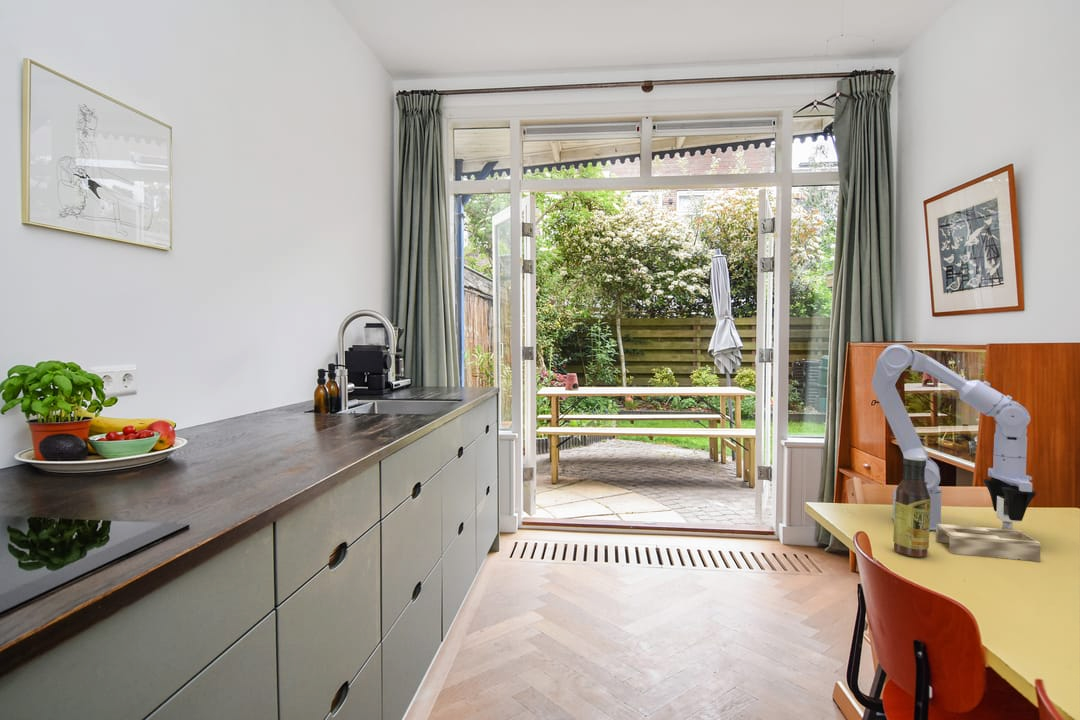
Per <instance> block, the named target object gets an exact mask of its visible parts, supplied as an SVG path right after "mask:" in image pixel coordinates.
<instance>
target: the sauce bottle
mask: <svg viewBox="0 0 1080 720" xmlns="http://www.w3.org/2000/svg"><path fill="white" fill-rule="evenodd" d="M902 465H903V473H902V478H903V479H902V480H901V481H900V482H899V484H898V485H897V487H896V488H897V489H896V500H895V513H894V520H893V538H892V542H893V548H894V551H895V552H897V553H898V554H901V555H905V556H909V557H917V558H919V557H920V558H921V557H926V556H927V554H928V549H929V548H930V530H929V529H930V507H931V498H930V495H929V492H928V489H927V486H926V483H925V477H924V475H925V467H926V460H925V459H922V458H916V457H904V456H903V457H902Z"/></svg>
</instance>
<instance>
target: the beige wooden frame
mask: <svg viewBox="0 0 1080 720" xmlns="http://www.w3.org/2000/svg"><path fill="white" fill-rule="evenodd" d="M1022 538H1024V539H1022ZM935 541H936V542H937V543H942V544H944V543H946V544H948V553H950V554H952V555H953V554H954V555H964V556H965V555H966V556H977V557H987V558H996V557H997V558H999V559H1007V558H1008V559H1009V560H1018V559H1020V560H1021V561H1028V560H1029V562H1031V561H1032V562H1041V546H1042V544H1041V542H1040V541H1039V540H1037V539H1034V538H1033V537H1032V536H1030V535H1028V534H1026V533H1025V532H1023V531H1021V530H1020V529H1012V530H1010V529H1002V528H996V527H995V528H994V527H985V526H984V527H983V526H971V525H970V526H969V525H958V524H948V523H947V524H946V523H945V524H944V523H941V524H936V531H935ZM1008 559H1007V560H1008Z"/></svg>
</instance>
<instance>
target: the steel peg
mask: <svg viewBox="0 0 1080 720" xmlns="http://www.w3.org/2000/svg"><path fill="white" fill-rule="evenodd" d="M995 517H996V518H997V519H998V520H1000V521H1001V523H1002V524H1001V525H1002V526H1001V529H1010V530H1014V529H1013V524H1014V523H1020V521H1014V520H1010V519H1009V516H1008V509H1007V502H1006V498H1005V496H997V512H996V516H995Z"/></svg>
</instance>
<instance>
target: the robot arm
mask: <svg viewBox="0 0 1080 720" xmlns="http://www.w3.org/2000/svg"><path fill="white" fill-rule="evenodd" d="M909 366H911V367H910V371H911V372H912V371H915V372H923V373H925V374H927V375H929V376H931V377H933V378H935V379H937V380H938V381H940V382H942V383H944V384H946V385H947V386H948V387H950V388H952V389H953V390H956V391H957V392H958V397H959V400H960V401H962V402H963V403H965V404H967V405H968V406H970V407H971V408H973V409H975V410H977V411H978V412H980V413H981V414H983V415H984V416H986V417H993V419H994V420H995V433H994V435H993V455H992V456H993V457H992V458H993V460H992V461H993V463H992V464H993V466H992V467H988V469H987V476H988V477H989V478H983V482H984V484H985V486H986V488H987V491H988V493H989V496H990V499H991V503H992V508H993V510H994V512H996V513H997V496H1005V498H1006V502H1007V509H1008V516H1009V519H1010V520H1014V521H1019V522H1022V521H1023V519H1024V517H1025V514H1026V510H1027V509H1028V506H1029V505H1030V503H1031V501H1032V500H1033V499H1034V498H1035V497H1036V495H1037V492H1036V491H1035V490H1033V482H1030V481H1032V480H1033V477H1032V476H1030V475H1028V474H1027V455H1028V453H1027V452H1028V451H1027V450H1028V436H1027V432H1028V428H1027V426H1028V425H1029V424H1030V422H1031V416H1030V413H1029V411H1028V410H1027V408H1026V407H1024V406H1023V405H1022V404H1020V403H1019V402H1018V401H1016V400H1015V401H1014V400H1012V399H1013V397H1012V396H1010V395H1008V394H1007V395H1004V394H1003V393H1002V392H1000V391H998V390H996V389H995V388H993V387H991V383H990V382H988V381H987V380H984V381H981V380H980V379H974V380H973V379H971V380H968V379H965V378H964V377H962V376H961V375H960V374H958V373H956V372H955V371H953V370H952V369H950V368H948V367H947V366H946V365H944V364H941V363H940V362H939V361H937V360H936V359H934V358H932V357H930V356H929V355H927V354H924V353H922V352H919V351H917V350H915V349H910V348H909V347H908V346H906V345H905V344H900V343H899V344H898V343H896V344H891V345H889V346H887V347H886V348H884V350H882V352H881V353H880V355H879V356H878V358H877V359H876V363H875V369H874V372H873V376H872V380H871V386H872V387H871V388H872V389H873V391H874V394H875V397H876V399H877V400H878V402H879V405H880V407H881V410H882V412H883V413H884V415H885V418H886V420H887V422H888V425H889V426H890V428H891V431H892V432H893V436H894V437H895V439H896V442H897V444H898V447H899V448H900V451H901V453H902V455H903V457H916V458H922V459H925V460H926V467H925V475H924V477H925V483H926V486H927V489H928V492H929V495H930V498H931V507H930V529H929V531H935V532H936V524H942V497H943V496H942V493H943V492H942V491H943V489H942V487H941V486H939V484H940V483H941V475H940V473H941V472H940V467H939V466H938V464H937V463H936V462H935V461H934V460H933V459H931V458H930V456H929V455H928V452H927V451H926V449H925V448H924V445H923V443H922V441H921V439H920V437H919V435H918V433H917V430H916V429H915V426H914V424H913V422H912V420H911V417H910V416H909V413H908V411H907V409H906V407H905V404H904V402H903V400H902V398H901V395H900V394H899V392H898V389H897V387H896V383H897V382H898V380H899V378H900V376H901V374H902V373H903V372H905V371H906V369H907V368H908V367H909ZM896 489H897V487H894V490H893V495H892V516H891V519H892V520H893V521H894V513H895V500H896Z"/></svg>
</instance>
